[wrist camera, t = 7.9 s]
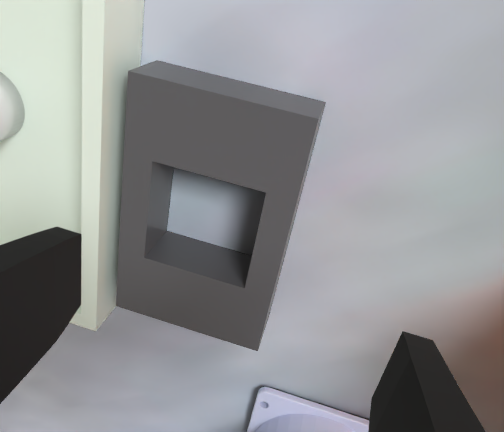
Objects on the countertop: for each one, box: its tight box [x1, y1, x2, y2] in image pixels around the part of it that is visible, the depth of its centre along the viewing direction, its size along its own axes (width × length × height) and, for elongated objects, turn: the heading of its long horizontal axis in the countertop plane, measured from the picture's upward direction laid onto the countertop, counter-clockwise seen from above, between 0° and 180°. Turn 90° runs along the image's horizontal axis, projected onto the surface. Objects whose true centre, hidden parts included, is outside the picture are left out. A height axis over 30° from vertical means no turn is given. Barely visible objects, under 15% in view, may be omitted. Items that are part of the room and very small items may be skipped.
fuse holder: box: [116, 61, 326, 351], centre depth 20 cm, size 11×7×2 cm, turn 169°
